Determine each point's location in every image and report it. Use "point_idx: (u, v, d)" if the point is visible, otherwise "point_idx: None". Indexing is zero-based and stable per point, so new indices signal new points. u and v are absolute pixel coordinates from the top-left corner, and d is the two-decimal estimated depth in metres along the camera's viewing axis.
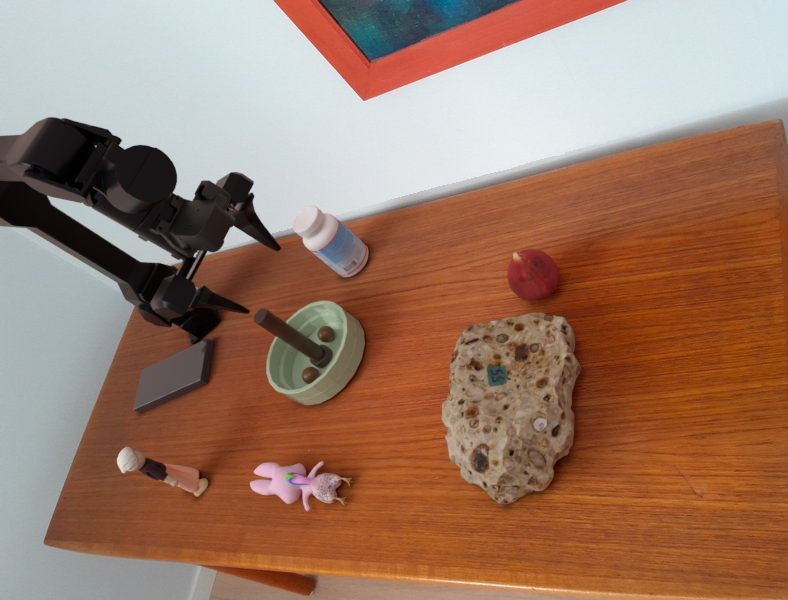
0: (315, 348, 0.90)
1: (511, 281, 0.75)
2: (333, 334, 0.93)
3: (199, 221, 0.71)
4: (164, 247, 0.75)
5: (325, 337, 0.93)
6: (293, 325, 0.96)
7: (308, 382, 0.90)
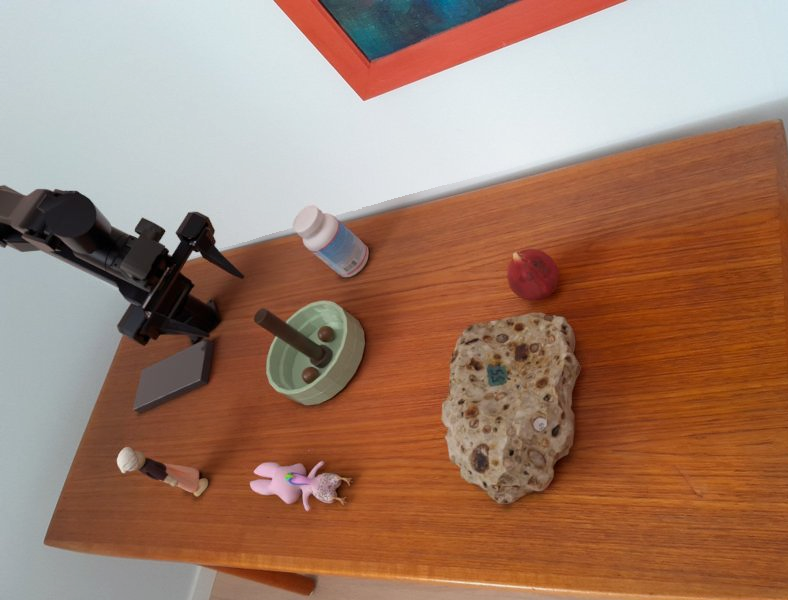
0: (315, 348, 0.90)
1: (511, 281, 0.75)
2: (333, 334, 0.93)
3: None
4: (131, 282, 0.87)
5: (325, 337, 0.93)
6: (293, 325, 0.96)
7: (308, 382, 0.90)
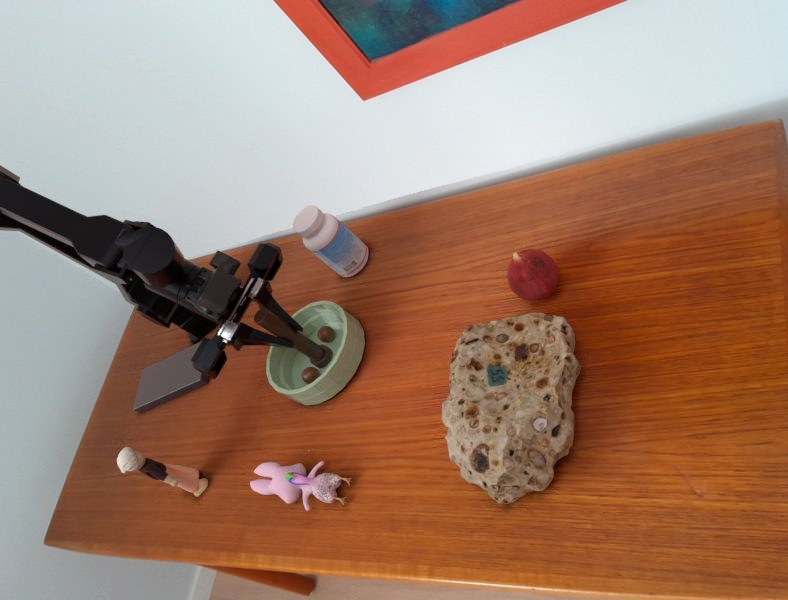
0: (315, 348, 0.90)
1: (511, 281, 0.75)
2: (333, 334, 0.93)
3: (205, 286, 0.80)
4: (203, 315, 0.86)
5: (325, 337, 0.93)
6: None
7: (308, 382, 0.90)
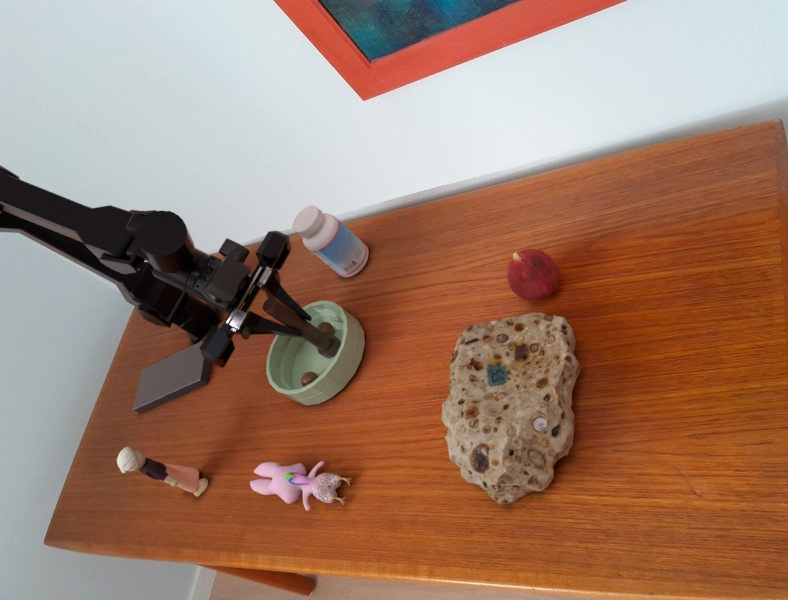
0: (323, 337, 0.90)
1: (511, 281, 0.75)
2: (331, 329, 0.93)
3: (215, 274, 0.79)
4: (211, 303, 0.85)
5: (321, 329, 0.93)
6: None
7: None
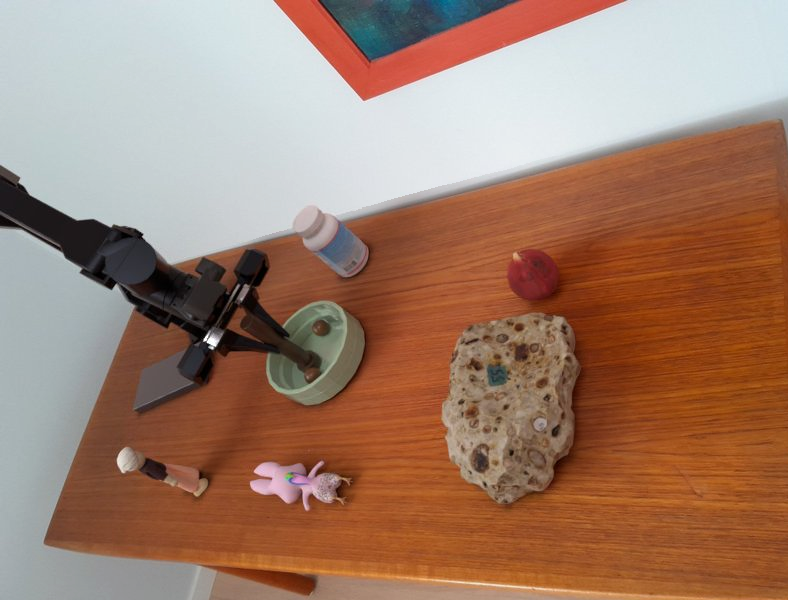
0: (302, 353, 0.90)
1: (511, 281, 0.75)
2: (323, 330, 0.94)
3: (190, 293, 0.79)
4: (189, 321, 0.86)
5: (316, 323, 0.94)
6: (293, 325, 0.96)
7: None
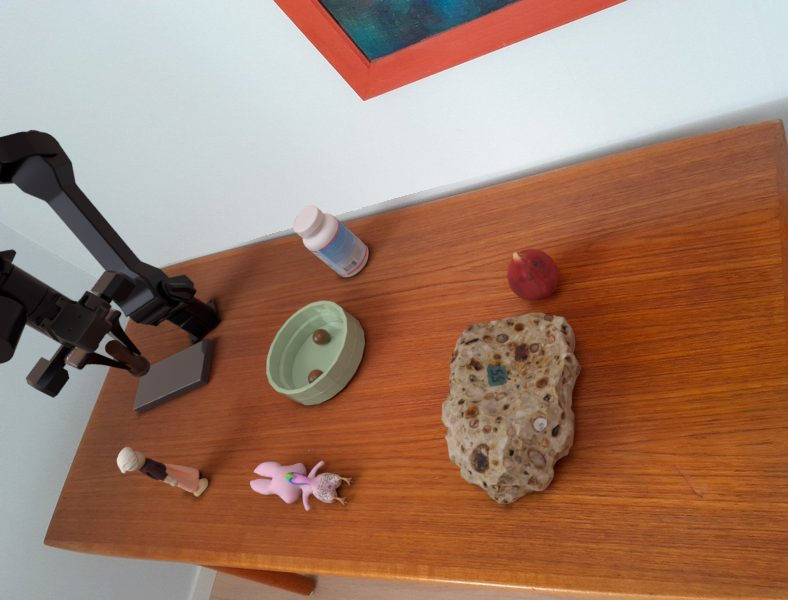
0: (141, 364, 1.00)
1: (511, 281, 0.75)
2: (328, 340, 0.94)
3: (78, 329, 0.84)
4: (45, 335, 0.87)
5: (321, 341, 0.93)
6: (293, 325, 0.96)
7: None
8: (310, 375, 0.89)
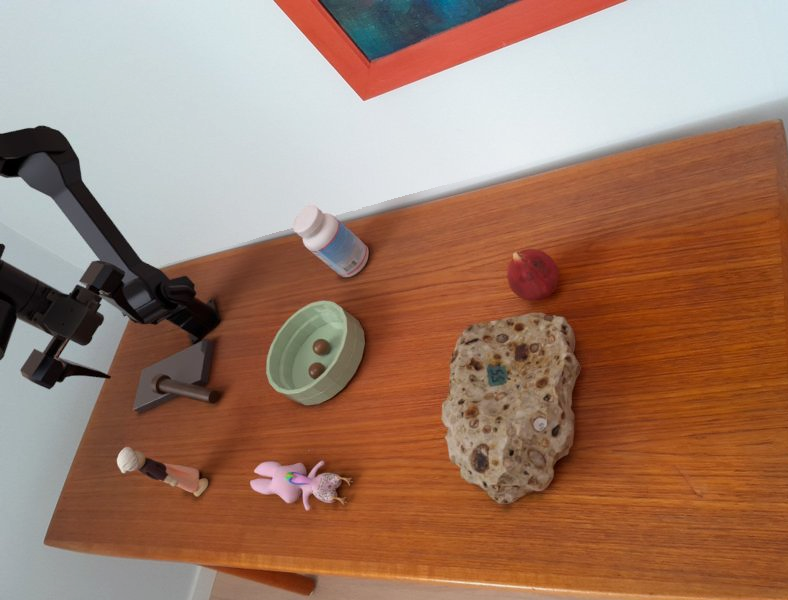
0: None
1: (511, 281, 0.75)
2: None
3: (71, 323, 0.85)
4: None
5: None
6: (293, 325, 0.96)
7: (311, 376, 0.90)
8: (313, 363, 0.91)
